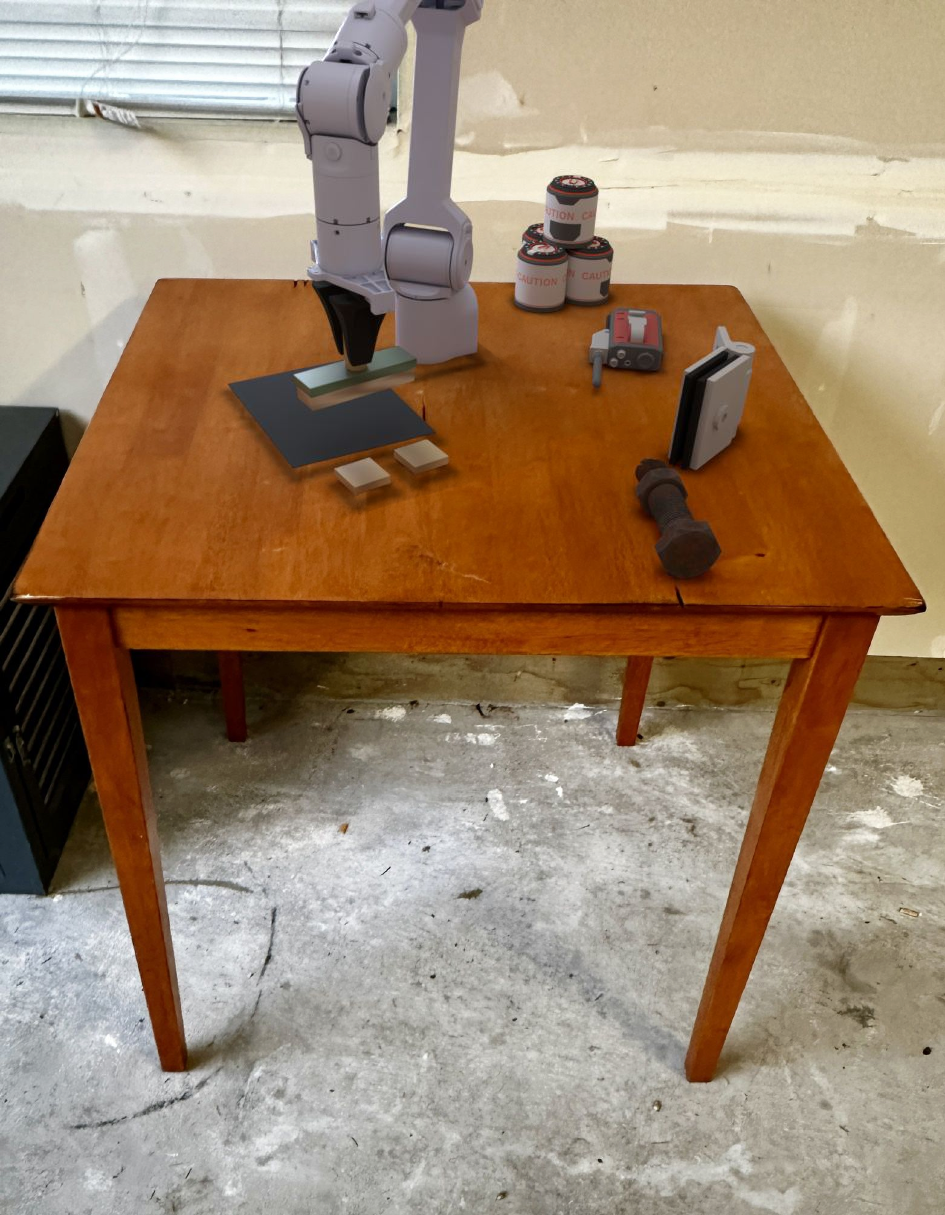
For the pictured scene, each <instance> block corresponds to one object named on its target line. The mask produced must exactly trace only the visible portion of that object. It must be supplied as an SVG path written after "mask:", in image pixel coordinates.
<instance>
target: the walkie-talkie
mask: <svg viewBox="0 0 945 1215" xmlns="http://www.w3.org/2000/svg"><path fill="white" fill-rule="evenodd" d="M662 331H663V330H662V315H660V314H659V313H658V312H656V311H655V310H653V309H643V308H629V307H617V308H615V309H613V310H611V311H610V312H609V314H608V315H607V316H606V320H605V328H603V329H602V330H599V331H597V332H595V333H593V334H592V336H591V337H592V338H591V345H590V346H589V355H588V362H589V363H592V364H593V368H592V380H591V385H592V386H593V387H594V388H597V389H599V388H600V387H601V386H602V373H603V372H602V371H603V365H604V364H605V365H606V366H608V367H609V368H612V369H613V368H614V369H624V370H635V371H648V372H649V371H650V372H655V371H659V370H660V369H661V364H662V362H663V359H664V343H663V333H662Z"/></svg>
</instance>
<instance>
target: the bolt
mask: <svg viewBox="0 0 945 1215" xmlns="http://www.w3.org/2000/svg"><path fill="white" fill-rule="evenodd" d="M639 463H640V464H638V465H637V466H636V467H635V471H634V474H635V475H634V476H635V478H636V480H637V485H636V487H635V488H634V492H635V494H636V497H637V500H638V501H639V503H640V505H641V508H642V509H643V510H644V512H645V515H646V516H650V517H653V518H654V520H655V524H656V526H657V529H658V530H659V533H660V535H661V537H660V538H659V539H658V541H656V543H655V544H654V545H653V548H654V550H655V552H656V554H657V556H658V558H659V560H660V562H661V564H662V566H663V568H664V570H665V572H666V574H667V575H668V577H671V578H677V579H692V578H696V577H699V576H702V575H704V574H705V573H707V572H708V571H709V570H710V569H711V568H712V567H713V566H714V565H715V564H716V563H717V561H718V560H719V558H720V556H721V553H722V548H721V545H720V544H719V542H718V539H717V537H716V535H715V533H714V531H713V529H712V527H711V526H710V523H709V522H708V520H695V519H694V517H693V514H692V512H691V510H690V508H689V506H688V504H687V502H686V500H687V498H688V496H689V493H688V491H687V489H686V487H685V484H684V483H683V480H682V478H681V477H680V474H679V472H678V470H677V469H675V468H669V467H668V464H667V463H666V462H665V461H663V460H661V459H656V458H651V457H650V458H647V457H645V458H644V459H642V460H641V461H640V462H639Z"/></svg>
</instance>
